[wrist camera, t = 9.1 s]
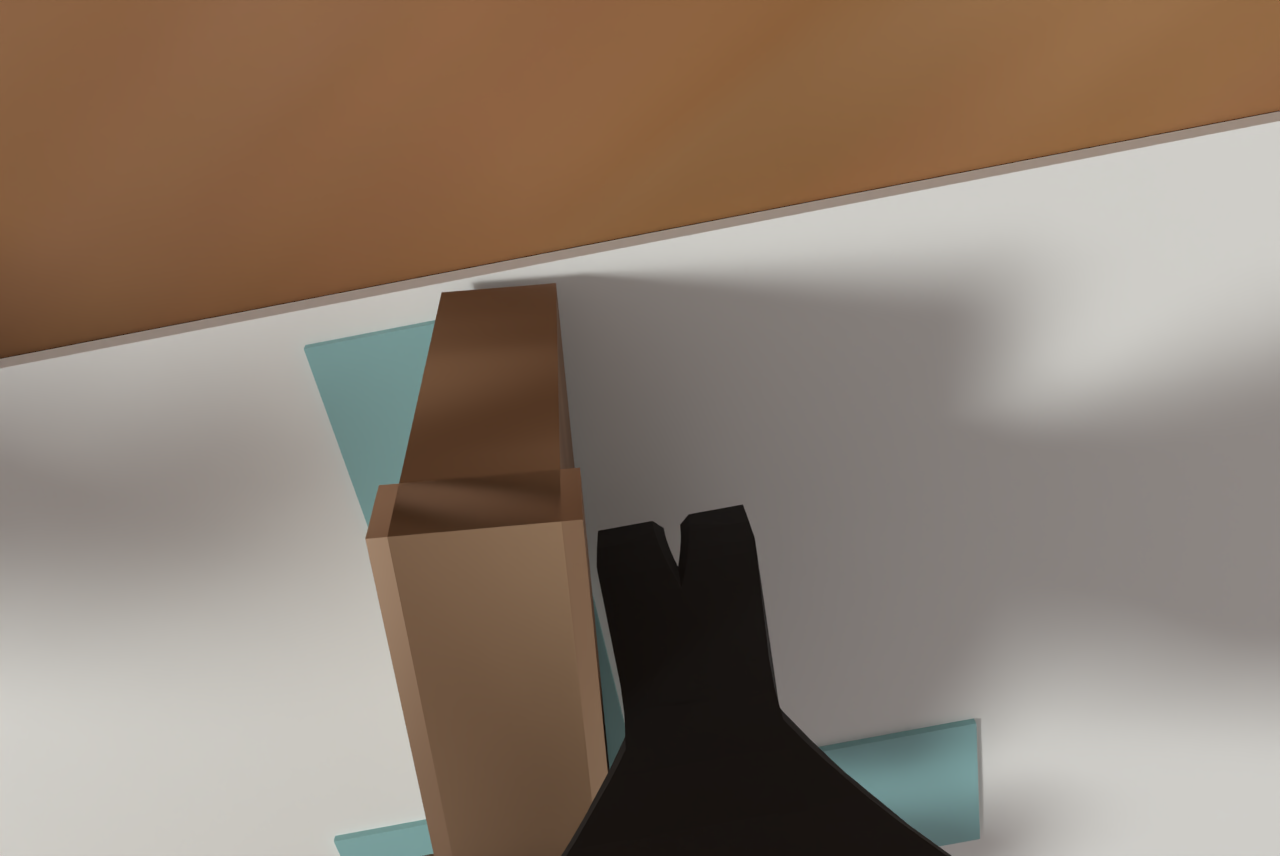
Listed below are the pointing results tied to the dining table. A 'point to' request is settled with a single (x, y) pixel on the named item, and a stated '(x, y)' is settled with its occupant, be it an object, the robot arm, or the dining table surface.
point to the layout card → (701, 481)
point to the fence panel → (493, 584)
